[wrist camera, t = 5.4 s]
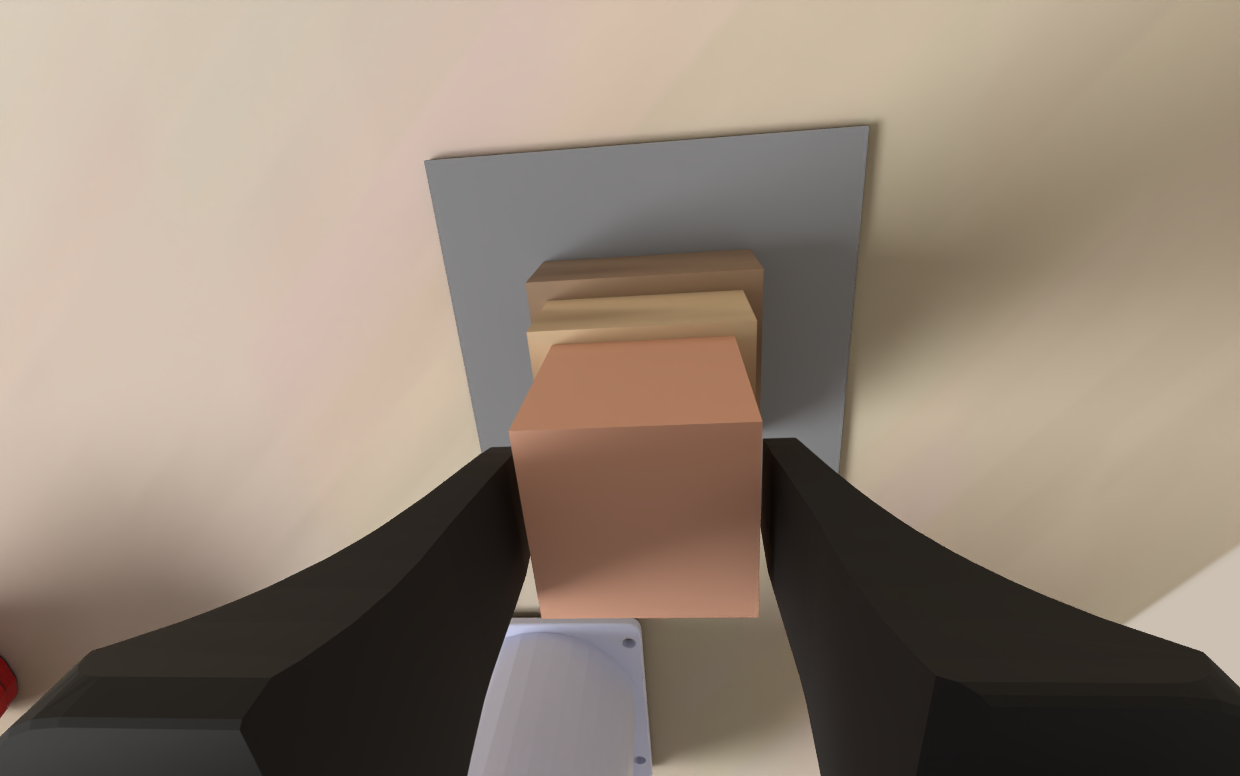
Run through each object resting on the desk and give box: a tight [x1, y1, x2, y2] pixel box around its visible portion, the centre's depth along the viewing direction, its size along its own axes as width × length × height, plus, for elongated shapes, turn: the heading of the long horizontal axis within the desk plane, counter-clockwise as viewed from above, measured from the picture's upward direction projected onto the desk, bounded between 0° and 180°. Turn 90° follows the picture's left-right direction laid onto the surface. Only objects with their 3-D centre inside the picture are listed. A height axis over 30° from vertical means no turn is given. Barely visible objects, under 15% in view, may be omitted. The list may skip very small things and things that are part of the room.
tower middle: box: [526, 290, 757, 398], centre depth 15 cm, size 5×5×2 cm
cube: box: [508, 336, 763, 619], centre depth 12 cm, size 4×4×4 cm
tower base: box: [525, 249, 764, 412], centre depth 17 cm, size 6×6×2 cm
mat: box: [424, 125, 869, 488], centre depth 18 cm, size 12×12×1 cm
